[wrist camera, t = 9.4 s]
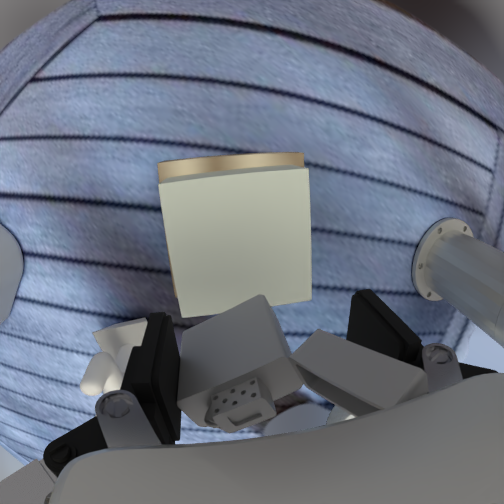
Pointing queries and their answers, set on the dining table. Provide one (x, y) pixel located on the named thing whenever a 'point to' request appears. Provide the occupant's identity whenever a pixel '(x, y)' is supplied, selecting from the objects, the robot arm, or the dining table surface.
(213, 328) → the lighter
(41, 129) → the dining table surface
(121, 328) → the figurine
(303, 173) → the sage top block
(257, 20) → the dining table surface
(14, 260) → the plastic bottle
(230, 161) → the birch base block
